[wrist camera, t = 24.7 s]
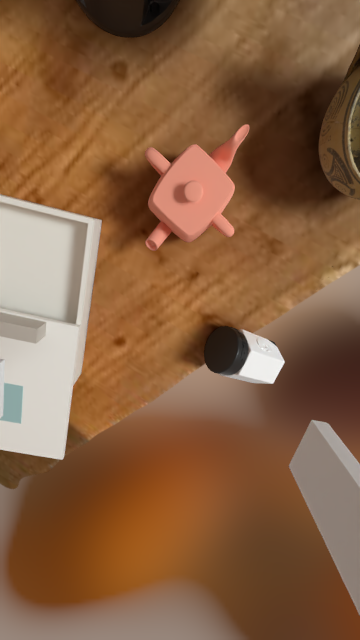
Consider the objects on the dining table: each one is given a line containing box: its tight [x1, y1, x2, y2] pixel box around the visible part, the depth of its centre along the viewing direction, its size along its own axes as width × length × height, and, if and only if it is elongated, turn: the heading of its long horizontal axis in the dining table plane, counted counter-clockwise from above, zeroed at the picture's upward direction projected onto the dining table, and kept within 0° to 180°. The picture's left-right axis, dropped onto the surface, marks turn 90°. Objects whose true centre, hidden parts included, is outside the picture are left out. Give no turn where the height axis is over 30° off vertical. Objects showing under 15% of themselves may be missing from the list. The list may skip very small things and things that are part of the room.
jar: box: [204, 326, 284, 384], centre depth 47 cm, size 9×8×12 cm
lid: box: [0, 308, 81, 460], centre depth 44 cm, size 28×22×4 cm
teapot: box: [145, 124, 249, 251], centre depth 35 cm, size 14×12×10 cm
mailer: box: [0, 194, 102, 385], centre depth 42 cm, size 28×22×4 cm
